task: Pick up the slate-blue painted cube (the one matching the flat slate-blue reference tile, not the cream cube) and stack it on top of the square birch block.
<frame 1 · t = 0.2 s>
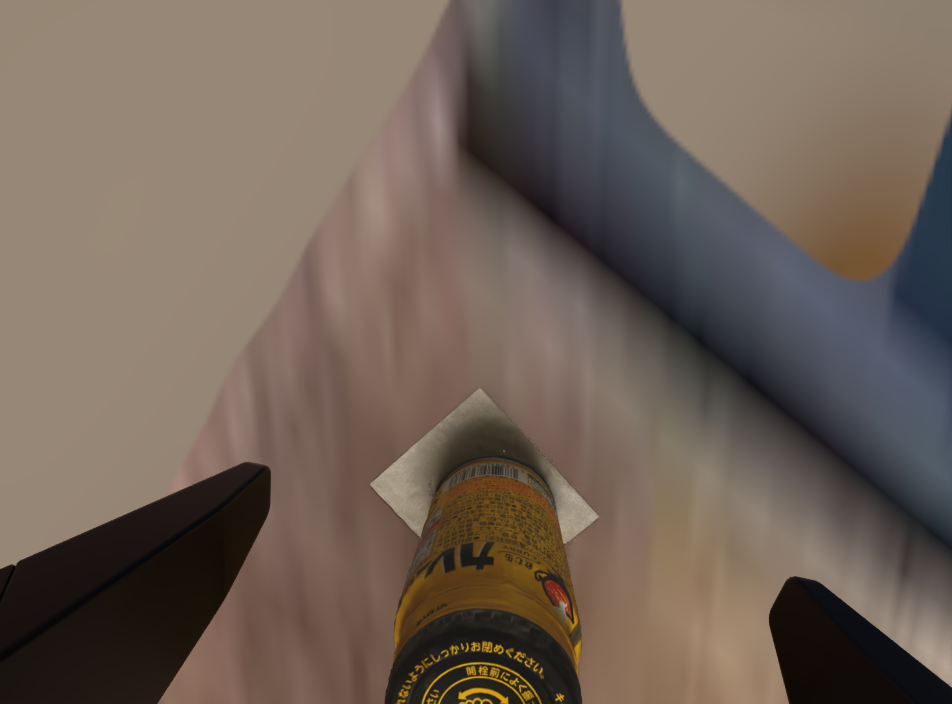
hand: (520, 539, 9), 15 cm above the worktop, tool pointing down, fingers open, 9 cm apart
condiment: (483, 497, 25), on the worktop
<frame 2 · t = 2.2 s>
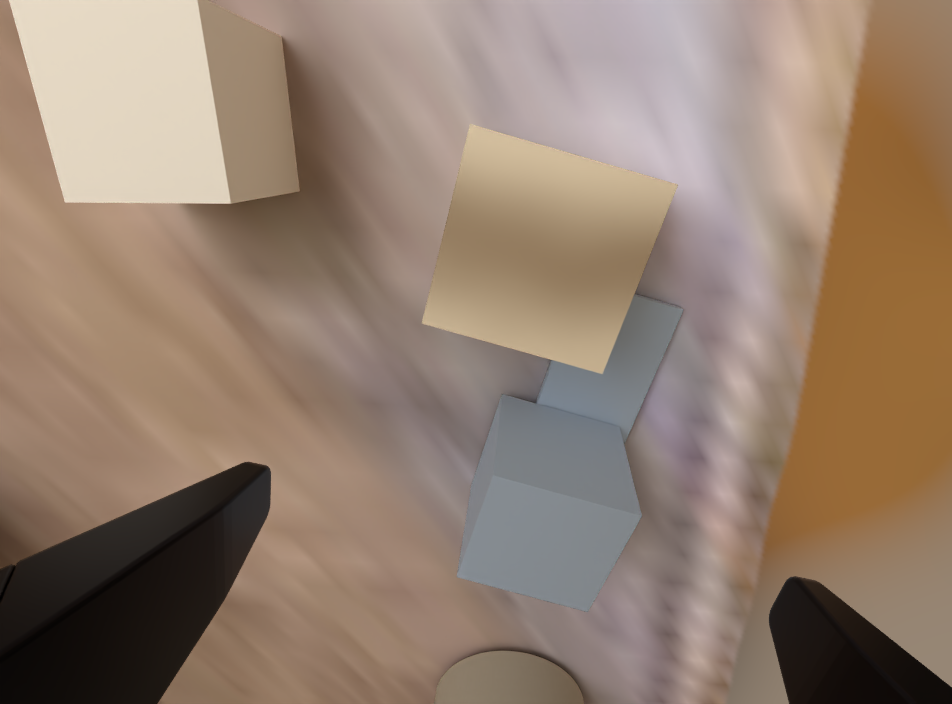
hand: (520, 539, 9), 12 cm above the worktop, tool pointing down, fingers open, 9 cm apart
travel mug: (509, 694, 28), on the worktop
cream cube: (224, 118, 19), on the worktop
reference tile: (602, 362, 21), on the worktop
birch block: (536, 237, 19), on the worktop
blue cube: (541, 456, 22), on the worktop, tilted 6°, touching reference tile
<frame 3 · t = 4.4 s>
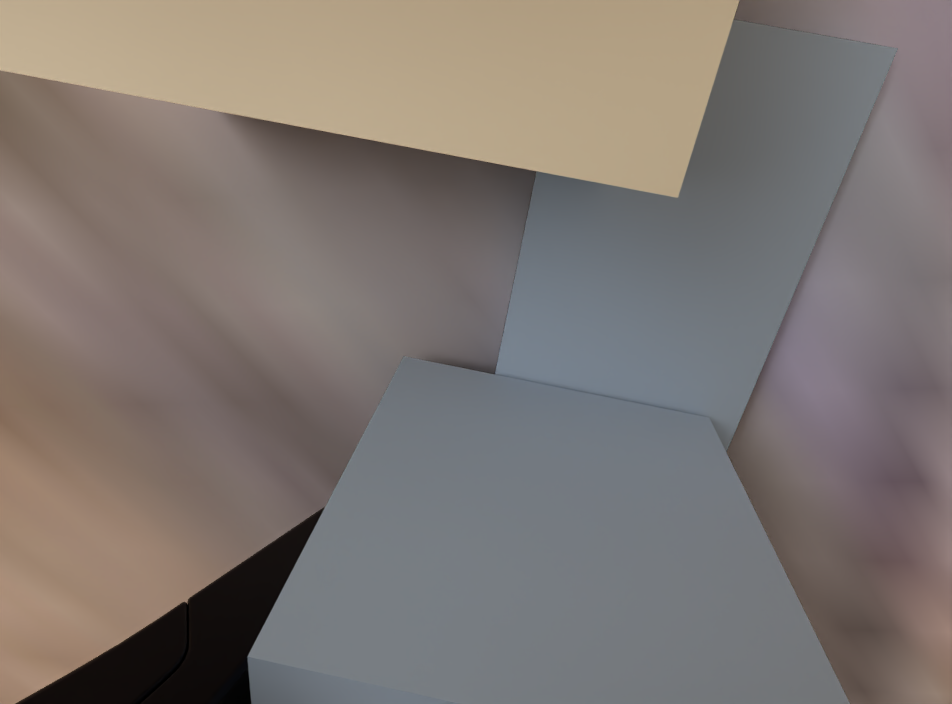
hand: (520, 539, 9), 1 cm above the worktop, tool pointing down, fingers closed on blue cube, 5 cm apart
reference tile: (653, 252, 8), on the worktop
blue cube: (523, 500, 9), on the worktop, tilted 6°, touching gripper
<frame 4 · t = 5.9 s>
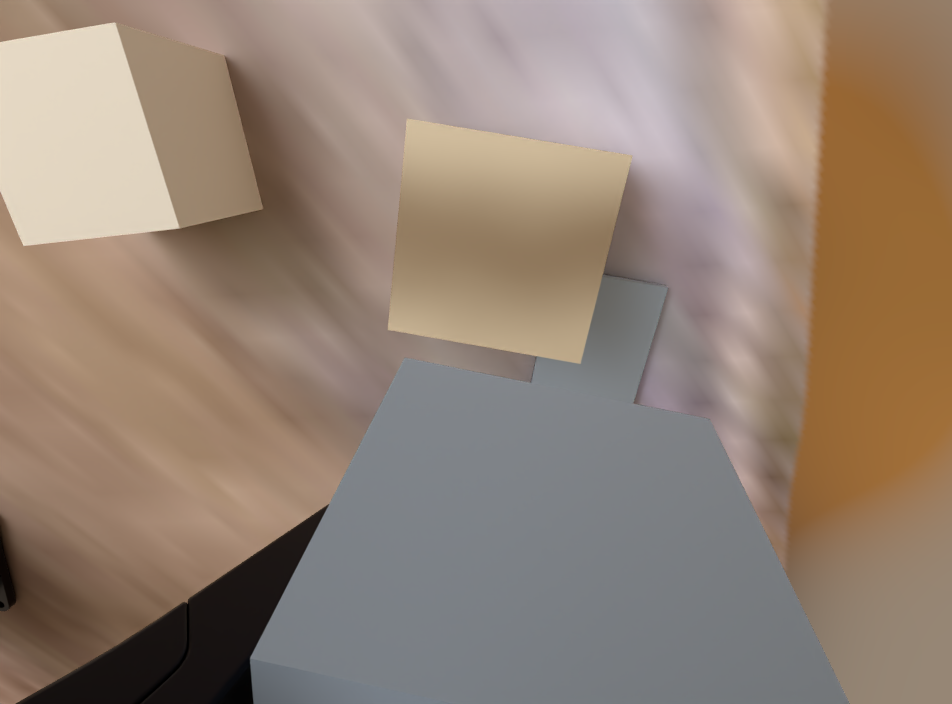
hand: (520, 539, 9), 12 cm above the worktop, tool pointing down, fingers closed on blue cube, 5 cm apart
cream cube: (181, 144, 19), on the worktop
reference tile: (590, 351, 20), on the worktop
birch block: (505, 229, 18), on the worktop
blue cube: (524, 501, 10), point 11 cm above the worktop, tilted 6°, touching gripper
when the fingers open (6 cm above the worktop, at t = 7.5 s): blue cube drops 1 cm, resting on birch block.
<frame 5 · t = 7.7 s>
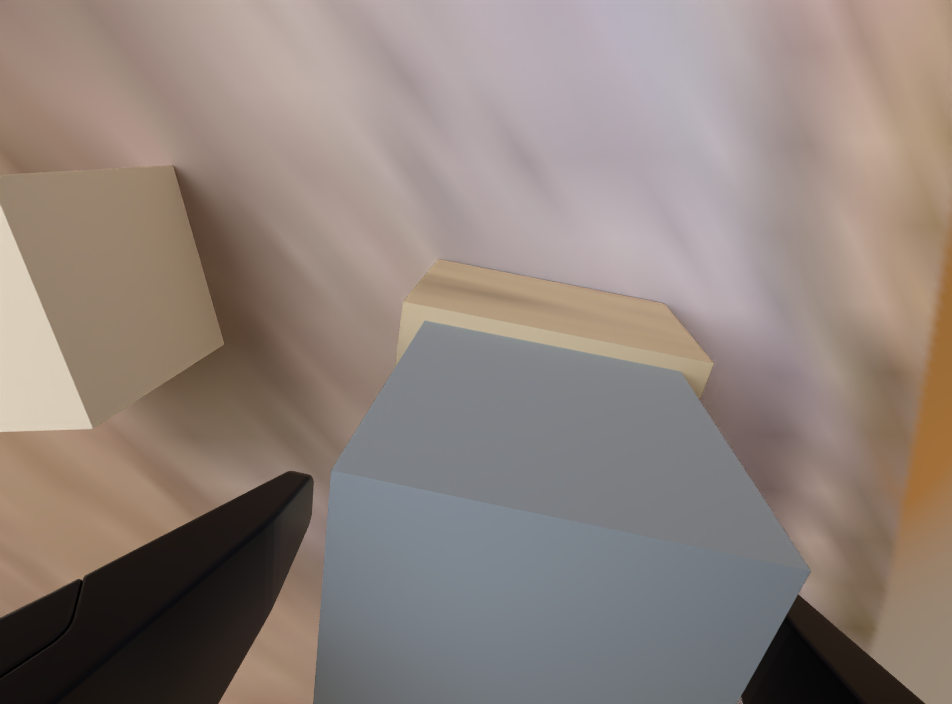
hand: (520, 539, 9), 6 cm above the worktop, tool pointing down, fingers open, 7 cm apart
cream cube: (121, 266, 15), on the worktop
birch block: (526, 382, 15), on the worktop
blue cube: (524, 454, 11), point 4 cm above the worktop, touching birch block
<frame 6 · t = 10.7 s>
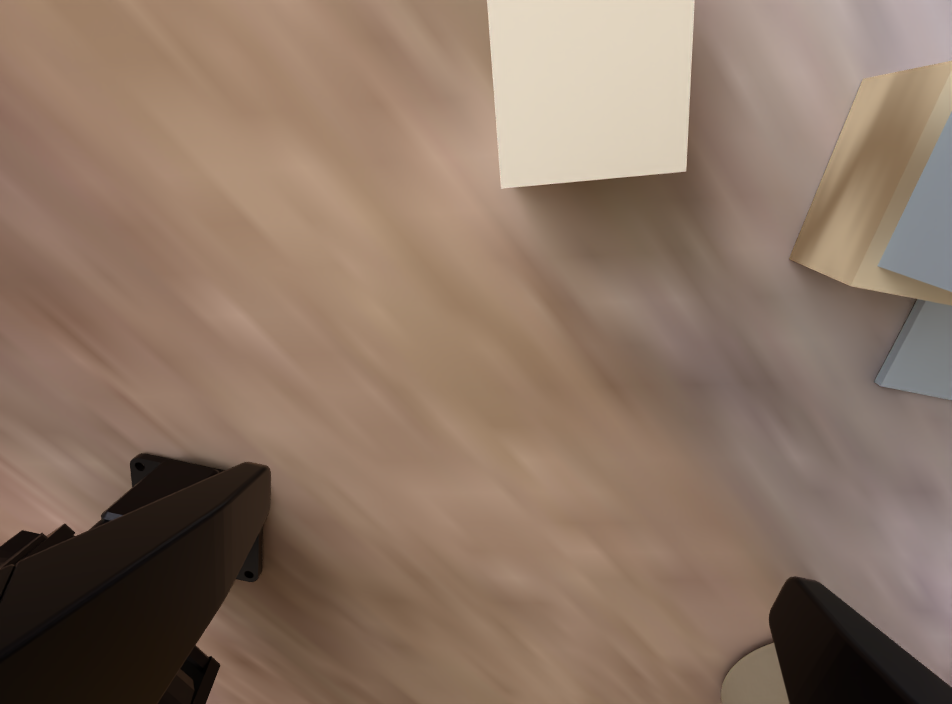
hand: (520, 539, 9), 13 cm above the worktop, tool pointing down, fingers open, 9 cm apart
travel mug: (797, 683, 27), on the worktop
cream cube: (575, 96, 18), on the worktop
birch block: (910, 190, 18), on the worktop
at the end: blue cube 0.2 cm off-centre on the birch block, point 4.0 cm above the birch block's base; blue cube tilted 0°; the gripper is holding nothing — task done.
